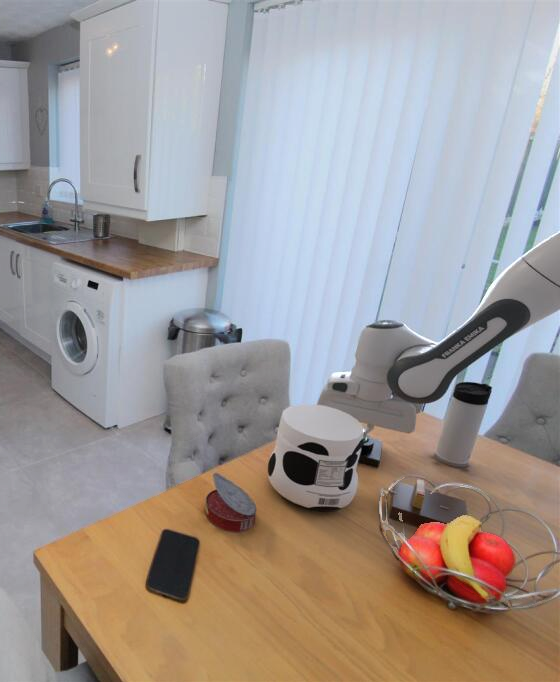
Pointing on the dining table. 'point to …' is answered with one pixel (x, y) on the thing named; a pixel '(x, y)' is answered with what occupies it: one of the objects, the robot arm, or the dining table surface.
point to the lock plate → (424, 506)
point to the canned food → (229, 506)
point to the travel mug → (462, 423)
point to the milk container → (316, 457)
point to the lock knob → (418, 493)
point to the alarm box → (370, 452)
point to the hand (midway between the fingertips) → (358, 436)
